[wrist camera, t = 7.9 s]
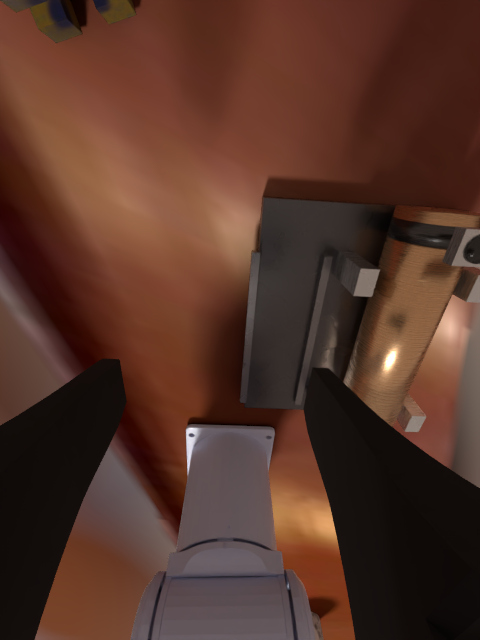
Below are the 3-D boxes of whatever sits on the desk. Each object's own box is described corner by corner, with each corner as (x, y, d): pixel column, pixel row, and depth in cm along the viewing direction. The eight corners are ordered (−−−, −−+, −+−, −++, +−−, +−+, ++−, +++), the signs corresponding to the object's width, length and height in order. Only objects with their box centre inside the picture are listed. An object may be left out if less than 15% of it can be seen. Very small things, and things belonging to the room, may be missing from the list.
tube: (373, 389, 23) (407, 429, 20) (327, 394, 22) (355, 436, 19) (439, 207, 17) (510, 217, 13) (379, 203, 16) (436, 214, 12)
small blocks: (393, 396, 23) (418, 431, 20) (306, 393, 23) (317, 428, 20) (451, 257, 18) (497, 276, 15) (338, 251, 17) (360, 268, 14)
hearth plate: (380, 403, 25) (388, 417, 23) (238, 398, 24) (239, 411, 23) (457, 209, 17) (475, 212, 16) (254, 195, 17) (256, 197, 15)
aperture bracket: (456, 241, 17) (560, 274, 12) (386, 237, 17) (457, 268, 11) (467, 215, 16) (583, 237, 11) (393, 211, 16) (474, 230, 11)
